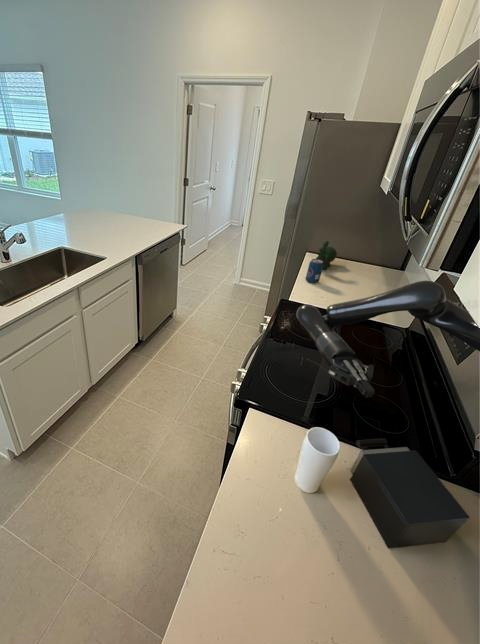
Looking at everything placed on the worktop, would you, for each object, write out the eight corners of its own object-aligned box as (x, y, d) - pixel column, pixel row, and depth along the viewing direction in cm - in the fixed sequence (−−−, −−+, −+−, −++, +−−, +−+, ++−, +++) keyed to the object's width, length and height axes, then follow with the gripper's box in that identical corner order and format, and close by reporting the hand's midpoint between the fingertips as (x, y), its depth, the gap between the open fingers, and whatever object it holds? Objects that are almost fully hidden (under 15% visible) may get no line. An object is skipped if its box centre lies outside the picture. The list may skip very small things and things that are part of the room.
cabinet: (349, 479, 71) (363, 454, 67) (399, 475, 73) (415, 450, 68) (388, 548, 60) (407, 524, 55) (445, 542, 61) (470, 517, 56)
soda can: (302, 279, 168) (307, 258, 162) (313, 278, 169) (319, 258, 163) (309, 284, 162) (315, 263, 156) (321, 284, 164) (327, 263, 158)
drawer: (341, 455, 76) (350, 434, 72) (383, 452, 77) (395, 431, 73) (383, 531, 62) (398, 510, 58) (434, 525, 63) (453, 505, 59)
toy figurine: (324, 277, 175) (337, 261, 192) (332, 246, 165) (345, 232, 181) (308, 272, 180) (321, 257, 197) (315, 242, 170) (329, 229, 186)
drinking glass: (304, 502, 66) (322, 460, 59) (284, 474, 72) (299, 432, 64) (328, 490, 69) (348, 449, 61) (307, 464, 74) (323, 422, 67)
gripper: (316, 340, 86) (350, 384, 71) (359, 338, 88) (401, 382, 73) (309, 360, 90) (340, 407, 75) (351, 359, 92) (390, 404, 77)
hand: (370, 395), depth 74 cm, fingers closed
